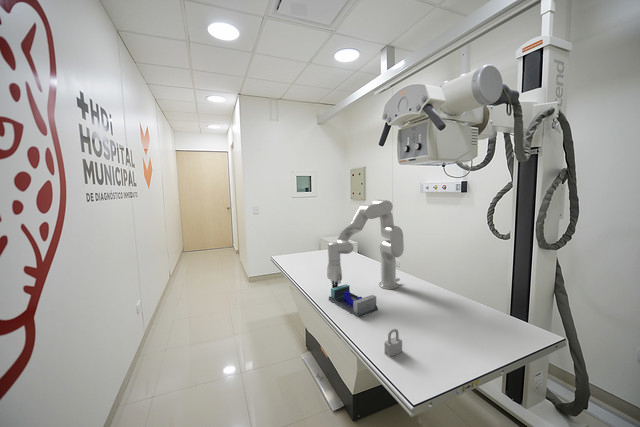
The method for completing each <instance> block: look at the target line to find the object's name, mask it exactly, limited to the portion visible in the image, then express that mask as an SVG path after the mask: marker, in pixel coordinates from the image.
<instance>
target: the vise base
mask: <svg viewBox="0 0 640 427" xmlns="http://www.w3.org/2000/svg"><path fill="white" fill-rule="evenodd" d="M350 296H351V298H352V299H353V300H354V301H353V306H351V305H349V304H347V303H345V302H344V297H340V298H337V299H334V298H332V297H331V295H329V296H328V301H329V302H331V303H333V304H334V303H335V304H334V305H337V306H338V307H340V308H341V309H343V310H344V311H347V312H348V313H350V314H351V315H353V316H355V317H357V318H362V317H364V316H366V315H370V314H372V313H375V312H377V311H379V308H378V305H377V296H376V295H374V294H372V295H368V296H365V297H362V299H359V300H356V299H357V297H359V296H358V295H356V294H354V293H351V292H350Z"/></svg>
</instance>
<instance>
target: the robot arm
mask: <svg viewBox="0 0 640 427" xmlns="http://www.w3.org/2000/svg"><path fill="white" fill-rule="evenodd" d="M392 210H393V203H392V202H391V201H390V200H388V199H387V200H386V199H375V200H372V201H371V203H370V204H362V205H360V206H359V207H358V208H357V210H356V213H355V214H354V216H353V218H352V219H351V221H350V223H349V224H348V225H347V226H346V227H345V228H344V229H343V230H342V231H341V232H340V234H339V236H338V237H337V239H336V241H331V242H329V243H328V244H327V253H328V254H327V256H328V259H327V260H328V263H327V267H326V268H327V269H326V277H327V279H328V280H330V281H331V287H332V288H335V287H338V286H339V284H341V283H342V279H343V276H342V275H343V272H342V264H341V255H342V254H343V255H344V254H345V255H349V254H351V253H353V251H354V245H353V244H352V243H351V242H350V241H349V240H350V238H352V237H353V236H354V235H355V234H358V233H360V232H361V231H363V228H365V225H366V223H367V221H368V219H369V220H373V219H377V218H379V220H380V222H379V223H380V235H381V237H382V238H384V240H382V241H381V242H380V243H379V253H380V265H381V267H380V268H381V269H380V270H381V273H380V274H381V276H380V277H381V279H380V280H381V281H380V282H379V283H378V286H379V287H380V288H382V289H386V290H395V289H398V287H399V284H398V283H397V282H400V281H401V278H400V277H398V278H397V275H396V274H397V273H396V272H397V270H396V265H397V262H396V261H397V260H396V258H400V257H402V255H403V254H404V250H405V249H404V248H405V246H404V245H405V244H404V233H403V230H402V228H401V227H400V226H397V225H395V224H394V216H393V213H392Z"/></svg>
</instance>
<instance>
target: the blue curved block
mask: <svg viewBox="0 0 640 427" xmlns="http://www.w3.org/2000/svg"><path fill="white" fill-rule="evenodd" d="M350 293H351V291H345V292H344V302H345V303H347V304H349V305H351V306H353V301H354V300H353V299H352V298H351V296H350ZM362 298H363V297H362V296H358V297H357V299H356V300H359V299H362Z"/></svg>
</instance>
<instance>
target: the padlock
mask: <svg viewBox="0 0 640 427" xmlns="http://www.w3.org/2000/svg"><path fill="white" fill-rule="evenodd" d="M393 333H395V337H392V335H393ZM387 334H388V335H387V340H386V341H384V343H383V344H384V354H385V355H387V356H388V357H389V358H390V357H393V356H396V355H399V354H400V353H402V352H403V340H402V339H401V338H400V336H399V335H400V334H399V330H398V329H397V328H391V329H390V330H389V331H388V333H387Z"/></svg>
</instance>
